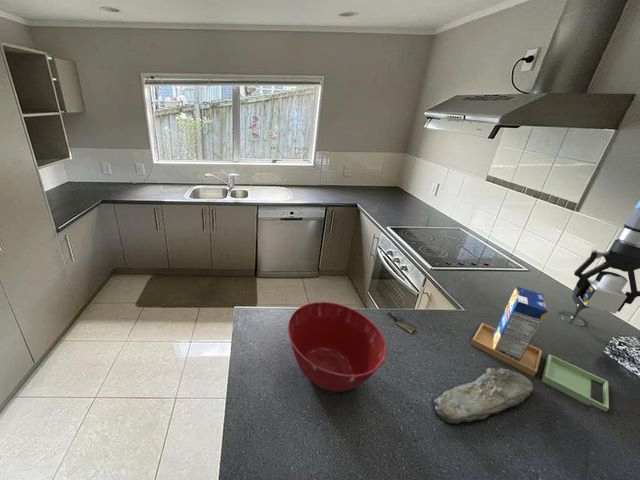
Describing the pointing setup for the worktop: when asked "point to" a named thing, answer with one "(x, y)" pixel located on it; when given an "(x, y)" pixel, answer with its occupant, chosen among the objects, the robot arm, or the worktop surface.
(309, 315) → the mixing bowl
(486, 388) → the long grey stone
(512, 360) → the oak tray
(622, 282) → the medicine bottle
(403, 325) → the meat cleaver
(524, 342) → the beverage box
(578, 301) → the wine glass
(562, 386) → the green tray
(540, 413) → the worktop surface
